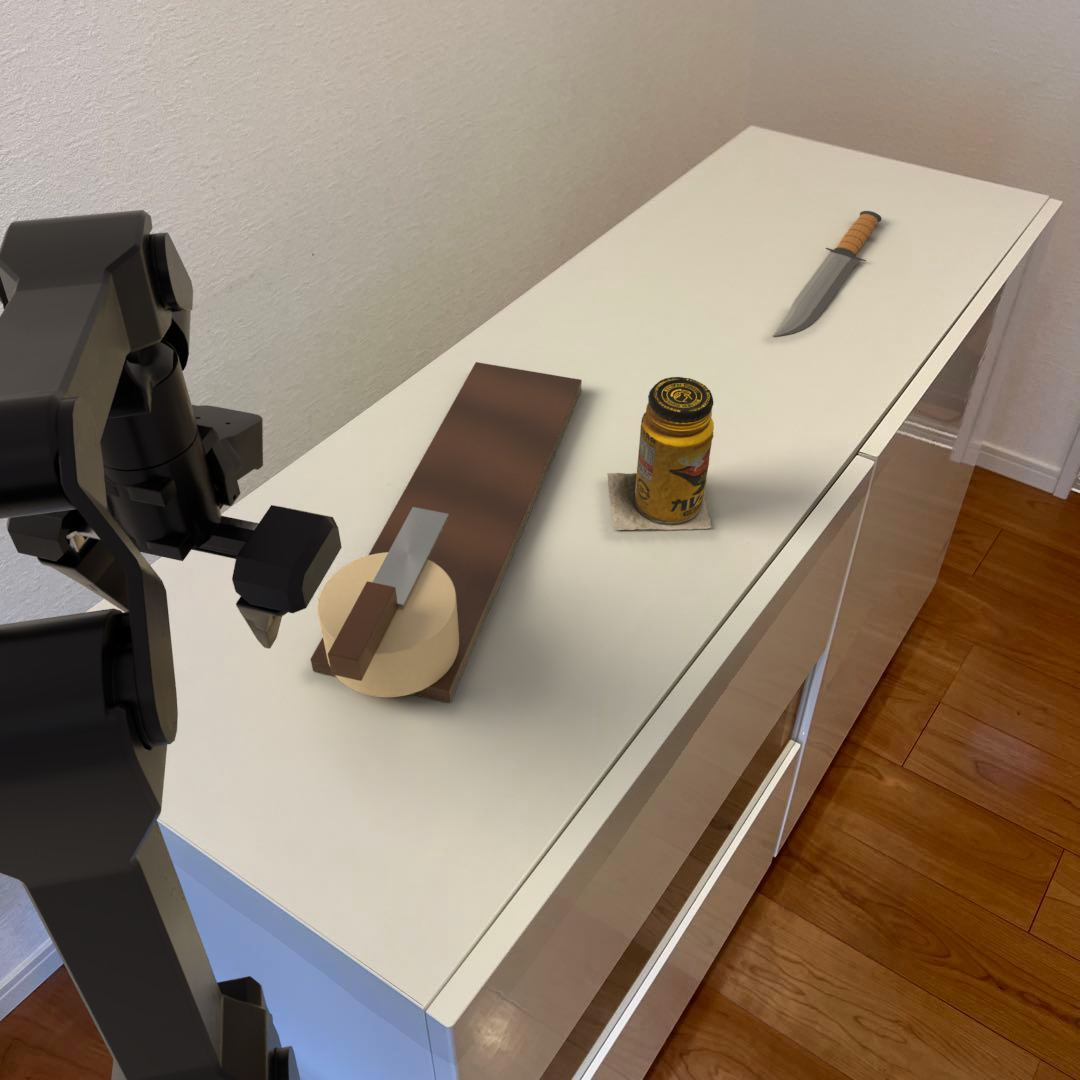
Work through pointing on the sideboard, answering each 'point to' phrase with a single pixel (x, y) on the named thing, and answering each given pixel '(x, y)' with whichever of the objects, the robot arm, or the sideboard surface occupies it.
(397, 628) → the cake
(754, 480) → the sideboard surface
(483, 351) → the sideboard surface
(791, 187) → the sideboard surface
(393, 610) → the cake knife
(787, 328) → the knife
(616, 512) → the condiment
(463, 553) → the serving board
